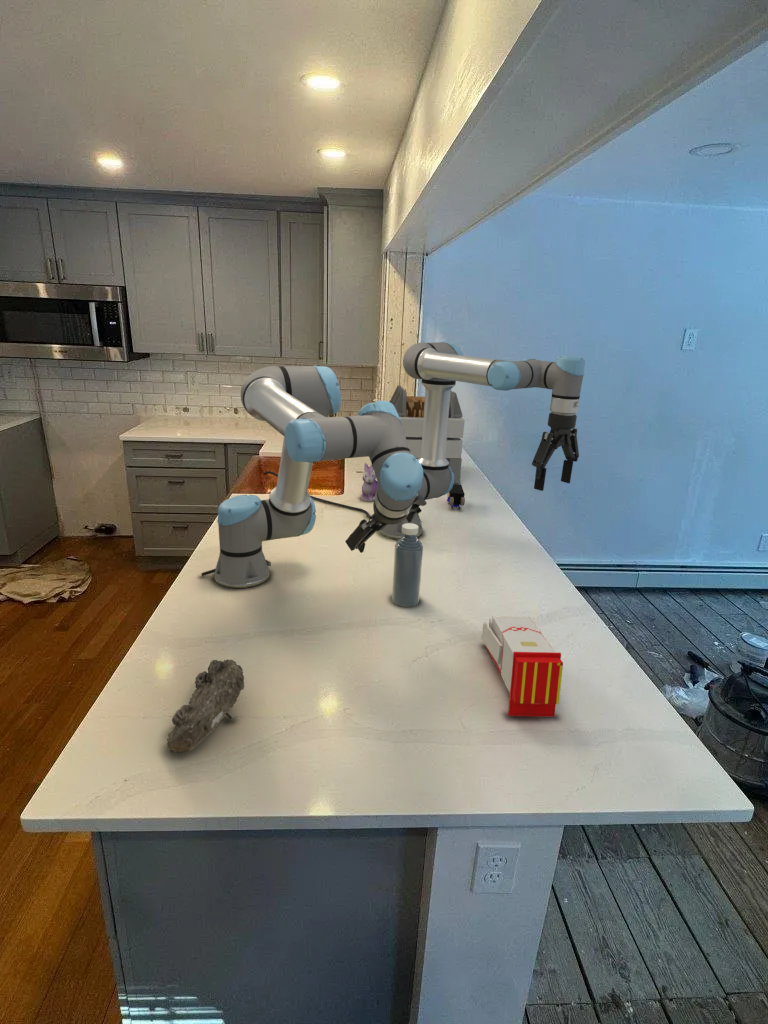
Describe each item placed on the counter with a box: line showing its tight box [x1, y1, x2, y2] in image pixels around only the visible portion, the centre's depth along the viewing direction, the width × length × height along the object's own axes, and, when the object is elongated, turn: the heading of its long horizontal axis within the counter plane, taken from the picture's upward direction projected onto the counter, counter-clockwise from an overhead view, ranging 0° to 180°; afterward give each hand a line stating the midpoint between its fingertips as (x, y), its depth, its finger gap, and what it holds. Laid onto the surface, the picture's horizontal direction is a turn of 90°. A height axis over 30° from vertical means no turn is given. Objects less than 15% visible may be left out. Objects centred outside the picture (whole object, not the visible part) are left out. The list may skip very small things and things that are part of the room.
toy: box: [481, 615, 564, 718], centre depth 123 cm, size 12×13×30 cm
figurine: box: [360, 462, 378, 502], centre depth 233 cm, size 9×10×15 cm
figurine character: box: [446, 483, 466, 510], centre depth 230 cm, size 7×8×15 cm
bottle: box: [391, 534, 424, 608], centre depth 151 cm, size 7×7×21 cm
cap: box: [402, 523, 418, 535], centre depth 148 cm, size 4×4×2 cm
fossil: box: [166, 658, 245, 754], centre depth 106 cm, size 22×10×15 cm
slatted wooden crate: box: [388, 384, 465, 484], centre depth 268 cm, size 34×33×41 cm
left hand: (383, 532), depth 132 cm, fingers open, 13 cm apart
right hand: (552, 485), depth 166 cm, fingers open, 13 cm apart
